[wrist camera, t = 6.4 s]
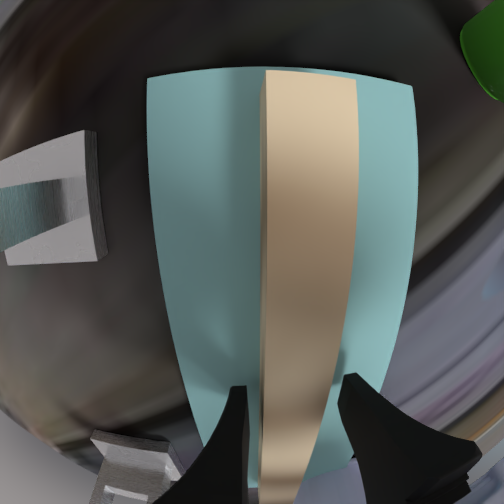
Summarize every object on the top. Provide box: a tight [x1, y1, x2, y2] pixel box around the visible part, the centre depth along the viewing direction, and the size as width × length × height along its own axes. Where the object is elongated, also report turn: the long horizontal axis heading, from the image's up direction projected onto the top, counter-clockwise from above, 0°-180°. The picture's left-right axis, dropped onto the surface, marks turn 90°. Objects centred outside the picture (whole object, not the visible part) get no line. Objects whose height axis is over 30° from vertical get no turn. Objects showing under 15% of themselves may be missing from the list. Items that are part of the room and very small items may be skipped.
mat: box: [147, 67, 418, 488], centre depth 12 cm, size 26×10×1 cm, turn 2°
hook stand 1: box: [0, 130, 108, 265], centre depth 6 cm, size 5×6×6 cm
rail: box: [258, 70, 359, 504], centre depth 10 cm, size 24×2×2 cm, turn 1°
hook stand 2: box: [89, 429, 186, 504], centre depth 12 cm, size 5×6×6 cm
